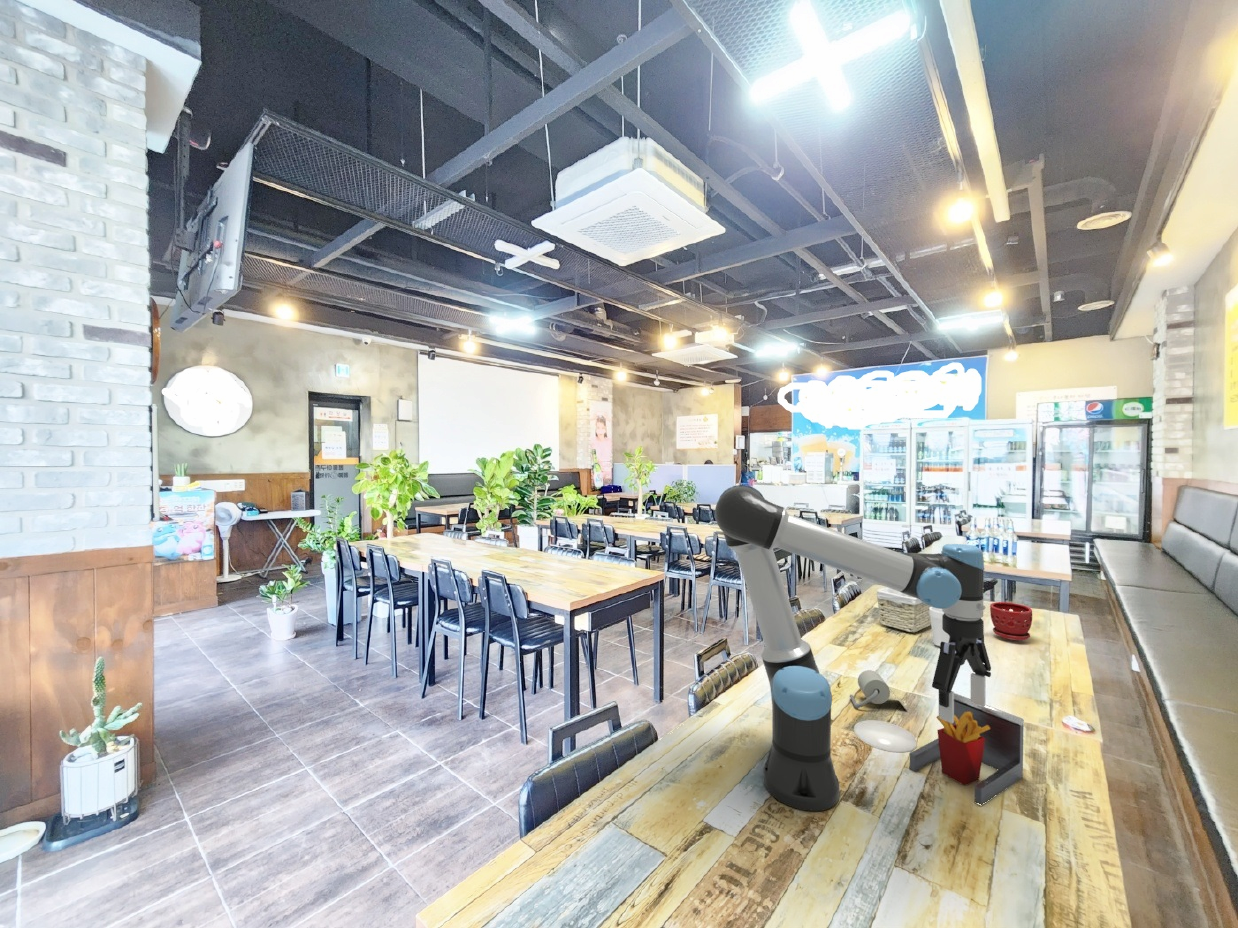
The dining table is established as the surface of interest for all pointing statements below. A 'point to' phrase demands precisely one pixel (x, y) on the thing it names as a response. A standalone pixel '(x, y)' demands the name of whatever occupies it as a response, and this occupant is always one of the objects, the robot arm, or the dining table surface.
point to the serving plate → (885, 736)
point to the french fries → (961, 748)
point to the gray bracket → (986, 747)
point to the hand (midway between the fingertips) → (962, 711)
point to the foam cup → (937, 626)
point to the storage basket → (902, 610)
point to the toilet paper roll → (872, 688)
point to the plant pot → (1011, 620)
